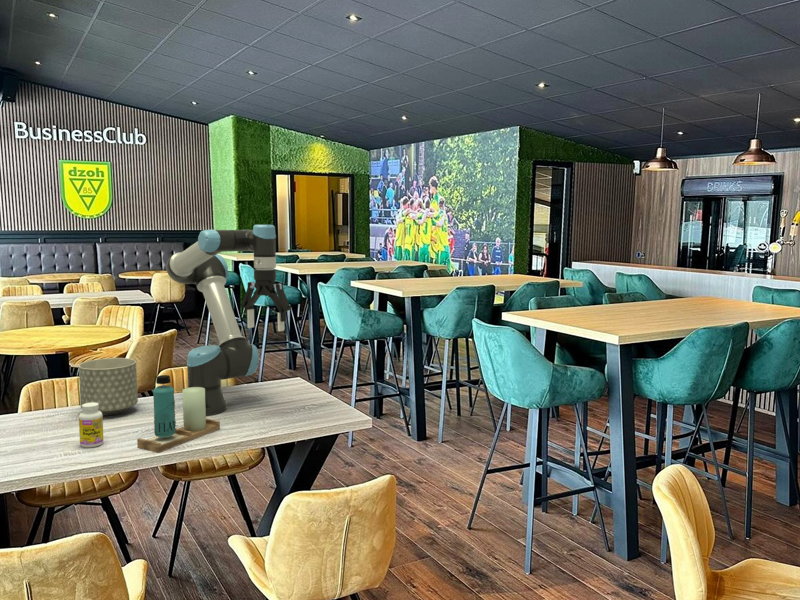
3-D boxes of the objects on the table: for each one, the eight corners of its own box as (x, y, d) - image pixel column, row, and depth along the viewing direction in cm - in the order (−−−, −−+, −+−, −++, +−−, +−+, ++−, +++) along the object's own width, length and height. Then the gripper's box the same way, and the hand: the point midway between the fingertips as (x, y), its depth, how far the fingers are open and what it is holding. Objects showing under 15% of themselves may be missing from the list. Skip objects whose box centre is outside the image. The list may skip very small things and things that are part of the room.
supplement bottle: (79, 449, 198) (77, 408, 197) (80, 442, 204) (78, 402, 203) (103, 446, 201) (101, 406, 200) (103, 440, 207) (102, 400, 206)
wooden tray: (137, 447, 200) (137, 439, 200) (200, 425, 223) (199, 417, 223) (158, 452, 196) (157, 444, 196) (219, 429, 219) (219, 421, 219)
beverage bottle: (155, 443, 199) (153, 379, 197) (152, 436, 205) (150, 374, 203) (177, 440, 202) (175, 377, 200) (174, 433, 208) (172, 372, 206)
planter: (139, 403, 249) (137, 356, 247) (136, 417, 231) (134, 367, 229) (84, 407, 243) (82, 359, 241) (77, 422, 225) (74, 370, 223)
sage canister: (179, 429, 213) (177, 390, 212) (195, 423, 220) (193, 386, 218) (194, 432, 210) (193, 393, 209) (210, 426, 216) (209, 388, 215)
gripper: (230, 268, 230) (231, 327, 232) (286, 271, 218) (287, 333, 221) (244, 267, 236) (245, 324, 239) (300, 269, 225) (300, 330, 227)
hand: (265, 329), depth 230 cm, fingers open, 13 cm apart
